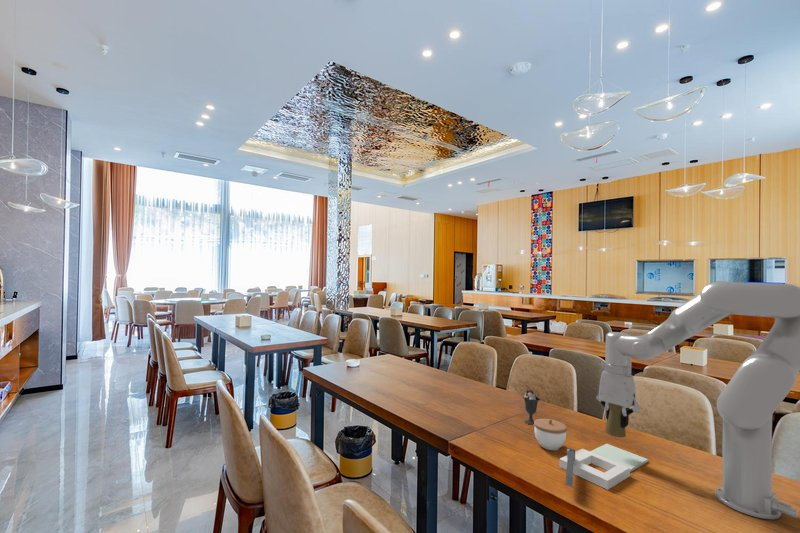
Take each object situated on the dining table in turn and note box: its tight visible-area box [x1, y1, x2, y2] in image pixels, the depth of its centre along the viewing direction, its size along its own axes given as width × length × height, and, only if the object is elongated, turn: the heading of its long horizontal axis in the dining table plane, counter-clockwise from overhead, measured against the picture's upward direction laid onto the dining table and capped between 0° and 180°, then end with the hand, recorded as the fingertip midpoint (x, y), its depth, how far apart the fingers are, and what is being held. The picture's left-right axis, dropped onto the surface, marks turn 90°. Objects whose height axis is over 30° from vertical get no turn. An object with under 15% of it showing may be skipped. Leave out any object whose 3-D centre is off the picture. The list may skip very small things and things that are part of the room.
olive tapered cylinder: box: [604, 403, 627, 438], centre depth 120 cm, size 6×6×11 cm
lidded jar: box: [533, 418, 568, 451], centre depth 127 cm, size 11×11×9 cm
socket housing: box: [558, 448, 631, 491], centre depth 110 cm, size 14×14×3 cm
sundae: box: [522, 385, 541, 425], centre depth 148 cm, size 7×7×15 cm
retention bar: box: [565, 447, 576, 488], centre depth 105 cm, size 19×2×2 cm, turn 153°
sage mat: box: [589, 443, 649, 473], centre depth 119 cm, size 13×13×1 cm
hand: (617, 424), depth 120 cm, fingers closed on olive tapered cylinder, 3 cm apart
